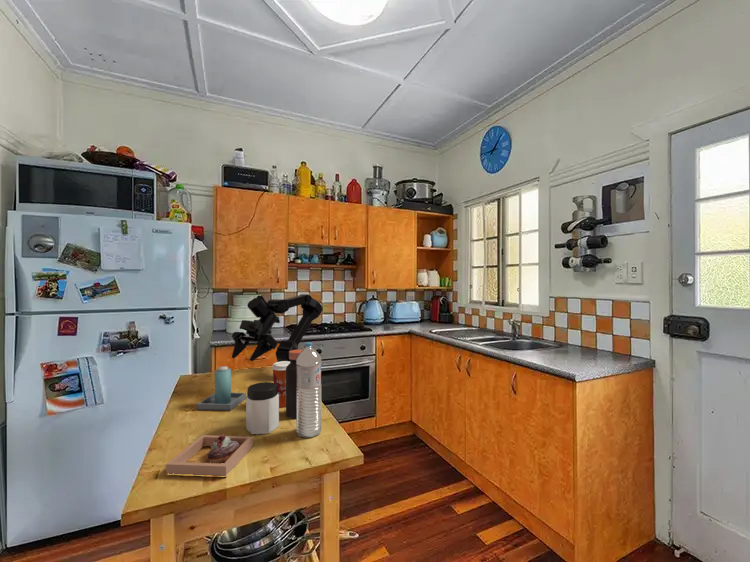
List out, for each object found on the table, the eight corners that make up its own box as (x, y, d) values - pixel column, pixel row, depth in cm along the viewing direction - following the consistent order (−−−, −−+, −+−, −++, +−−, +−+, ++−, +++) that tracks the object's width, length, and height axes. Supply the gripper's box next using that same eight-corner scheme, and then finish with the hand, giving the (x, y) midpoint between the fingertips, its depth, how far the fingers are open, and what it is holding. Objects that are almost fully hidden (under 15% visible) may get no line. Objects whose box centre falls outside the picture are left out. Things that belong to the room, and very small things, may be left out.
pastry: (211, 450, 83) (211, 430, 83) (243, 446, 85) (243, 427, 85) (203, 468, 75) (203, 446, 75) (239, 463, 77) (239, 442, 77)
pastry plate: (253, 446, 84) (253, 436, 84) (226, 478, 71) (226, 466, 71) (202, 444, 85) (202, 435, 85) (166, 475, 72) (166, 464, 72)
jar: (261, 419, 100) (261, 380, 100) (284, 423, 97) (283, 383, 97) (239, 432, 92) (239, 389, 92) (264, 437, 89) (263, 393, 89)
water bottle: (310, 441, 87) (310, 346, 87) (291, 435, 90) (290, 343, 90) (326, 430, 93) (326, 342, 93) (307, 425, 96) (307, 339, 96)
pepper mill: (230, 398, 116) (231, 364, 116) (230, 403, 112) (231, 368, 111) (215, 400, 114) (215, 366, 114) (214, 406, 110) (214, 370, 109)
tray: (246, 398, 118) (246, 392, 118) (230, 410, 107) (230, 404, 107) (215, 397, 119) (215, 392, 119) (197, 410, 108) (197, 404, 108)
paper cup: (275, 410, 107) (275, 367, 107) (269, 403, 114) (269, 362, 114) (298, 405, 111) (298, 364, 111) (291, 398, 118) (291, 359, 118)
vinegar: (285, 411, 106) (285, 349, 106) (306, 409, 108) (306, 348, 108) (286, 420, 100) (286, 354, 100) (309, 417, 102) (309, 352, 102)
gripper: (235, 310, 129) (210, 344, 119) (271, 313, 121) (247, 348, 111) (251, 328, 136) (228, 361, 126) (286, 331, 128) (265, 366, 118)
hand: (241, 359), depth 120 cm, fingers open, 9 cm apart
